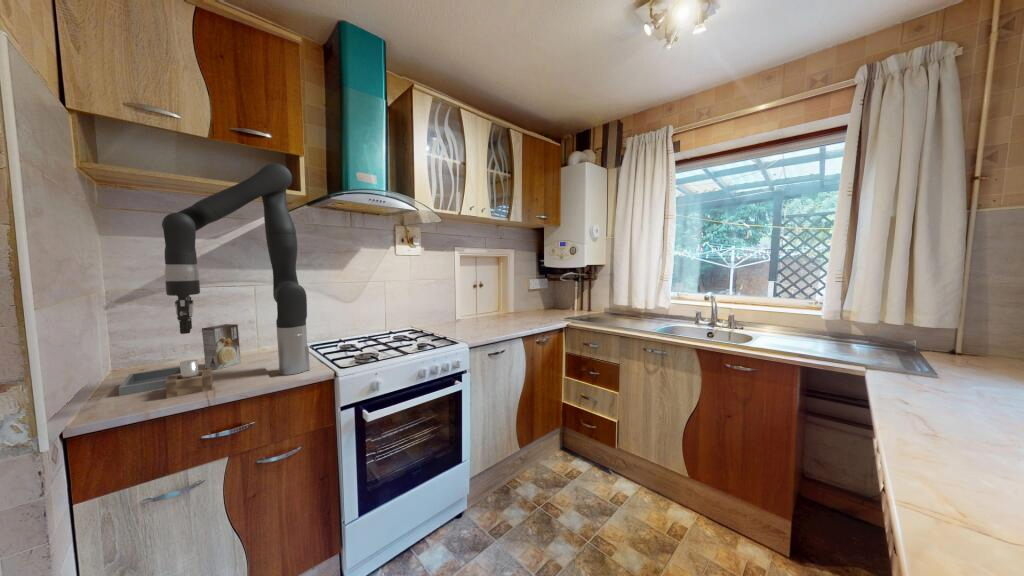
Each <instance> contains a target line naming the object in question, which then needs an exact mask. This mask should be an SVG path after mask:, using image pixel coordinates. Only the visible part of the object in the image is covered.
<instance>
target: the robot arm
mask: <svg viewBox="0 0 1024 576" xmlns="http://www.w3.org/2000/svg"><path fill="white" fill-rule="evenodd" d="M292 182H293V175H292V173H291V171H290V169H288V167H286V166H284V165H283V164H281V163H268V164H265V165H263V166H262V167H261V168H260V169H259V170H258V172H256V173H254V174H252V176H250V177H248V178H246V179H244V180H242V181H241V182H239V183H236V184H234V185H232V186H229V187H227V188H224V189H222V190H220V191H217V192H215V193H214V194H213V193H212V194H210V195H208V196H207V197H204V198H202V199H200V200H198V201H196V202H195V203H193V204H192V205H191V206H188V207H186V208H183V209H182V210H179V211H177V212H171V213H168V214H166V215H165V216H164V218H163V219H162V220H161V221H162V222H161V228H162V231H163V238H164V245H165V247H164V264H165V265H164V281H165V283H164V284H165V294H166V295H167V296H172V297H173V296H176V297H177V299H176V300H175V301H174V306H175V314H176V316H177V321H178V323H179V334H181V335H184V334H185V335H186V334H190V333H191V330H192V328H193V322H192V321H193V320H192V318H193V313H194V299H192V297H191V296H193V295H194V296H195V295H199V294H201V285H200V283H201V282H200V271H199V268H198V256H197V250H196V238H197V236H196V233H197V231H199V230H201V229H202V228H204V227H205V226H208V225H209V224H211V223H214V222H217V221H219V220H221V219H223V218H225V217H226V216H227V217H228V215H230V214H233V213H234V212H236V211H238V210H239V209H241V208H243V207H244V206H246V205H247V204H249V203H252V202H253V201H254V200H255V201H256V199H258V198H260V197H261V201H262V204H263V220H264V233H265V238H266V246H267V250H268V256H269V261H270V264H271V269H272V279H273V280H272V281H273V282H272V288H273V290H272V292H273V294H272V295H273V299H274V301H275V302H276V309H277V310H276V311H277V312H276V313H277V316H276V321H275V323H276V339H277V355H278V356H277V358H278V370H279V371H278V373H279V374H280V375H285V376H286V375H296V374H300V373H304V372H306V371H310V370H311V369H310V368H311V367H310V350H309V349H310V347H309V344H308V336H307V317H308V304H307V302H308V299H307V293H306V292H307V291H306V290H305V289H304V287H303V286H301V285H300V284H299V280H298V276H297V269H296V268H297V259H298V238H297V232H296V227H295V224H294V221H293V219H292V216H291V213H290V212H289V208H288V203H287V202H288V201H287V189H288V188H289V187H290V186H291V185H292Z"/></svg>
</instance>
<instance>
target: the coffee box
mask: <svg viewBox="0 0 1024 576" xmlns="http://www.w3.org/2000/svg"><path fill="white" fill-rule="evenodd" d="M238 326H239V325H238V324H234V323H233V324H232V323H228V324H227V323H224V324H219V325H214V326H213V325H212V326H207V327H202V328H201V332H202V342H203V343H202V344H203V346H202V347H203V355H204V365H205V366H204V369H206V368H207V369H211V368H212V370H217V369H218V370H221V368H222V369H224V367H225V368H228V367H231V366H234V365H238V364H241V363H242V360H241V351H240V350H241V349H240V348H241V347H240V339H239V337H240V336H239V327H238Z"/></svg>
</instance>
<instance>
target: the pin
mask: <svg viewBox="0 0 1024 576" xmlns="http://www.w3.org/2000/svg"><path fill="white" fill-rule="evenodd" d="M179 367H180V370H181V379H185V378H191V377H197V376H199V372H198V371H199V361H198V359H188V360H184V361H183V360H182V361H181V362H179Z"/></svg>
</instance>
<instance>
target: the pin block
mask: <svg viewBox="0 0 1024 576" xmlns="http://www.w3.org/2000/svg"><path fill="white" fill-rule="evenodd" d="M212 370H213V369H212V368H211V369H206V368H204V369H198V372H199V376H197V377H191V378H185V379H181V373H180V374H174V375H169V377H168V379H167V381H166V388H165V393H166V394H165V396H166V399H172V398H177V397H183V396H188V395H189V396H190V395H194V394H198V393H204V392H208V391H213V381H214V380H213V371H212Z"/></svg>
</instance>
